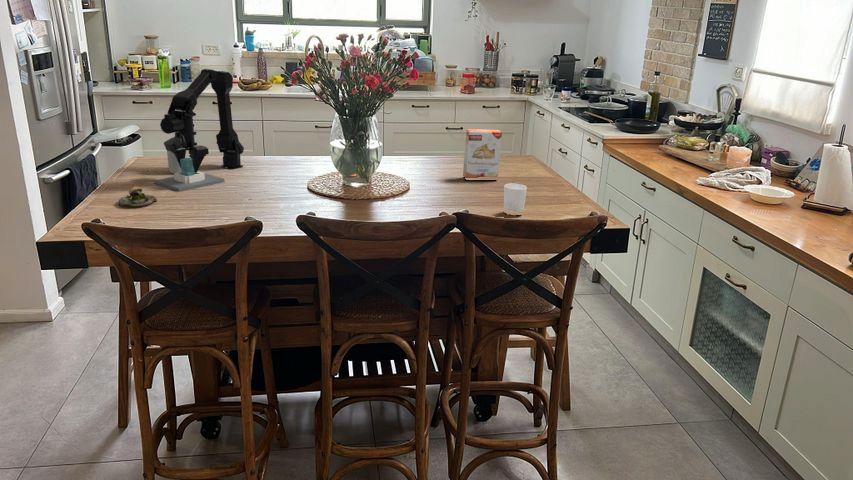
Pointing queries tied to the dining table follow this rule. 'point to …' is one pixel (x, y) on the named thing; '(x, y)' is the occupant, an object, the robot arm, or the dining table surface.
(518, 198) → the white cup
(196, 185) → the holder
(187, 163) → the peg
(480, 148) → the cracker box
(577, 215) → the dining table surface
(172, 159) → the can
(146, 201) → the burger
